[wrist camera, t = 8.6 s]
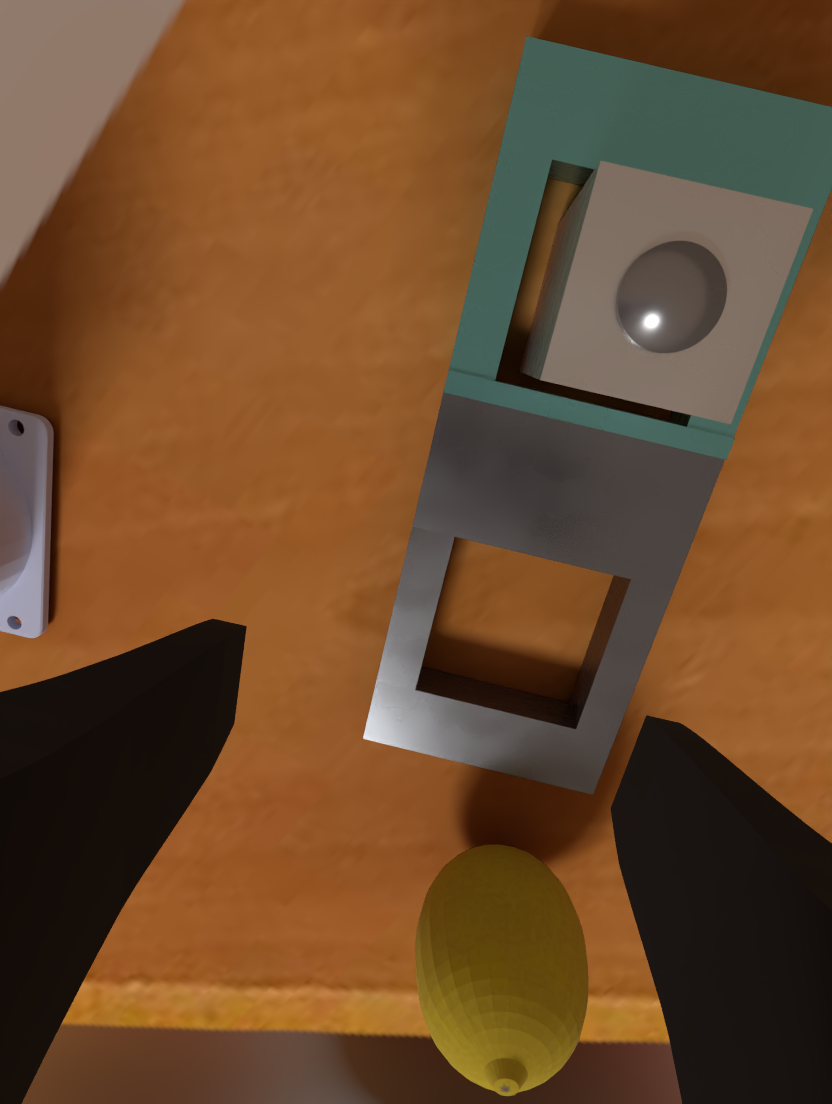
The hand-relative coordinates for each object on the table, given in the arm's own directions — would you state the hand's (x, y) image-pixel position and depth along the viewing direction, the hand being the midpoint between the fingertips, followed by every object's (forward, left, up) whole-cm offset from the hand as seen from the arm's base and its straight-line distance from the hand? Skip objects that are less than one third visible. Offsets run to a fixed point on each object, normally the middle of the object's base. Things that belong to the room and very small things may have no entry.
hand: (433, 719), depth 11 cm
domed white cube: (+3, +8, -10) cm, 13 cm away
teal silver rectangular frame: (+3, +3, -10) cm, 11 cm away
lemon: (+5, -12, -10) cm, 16 cm away
